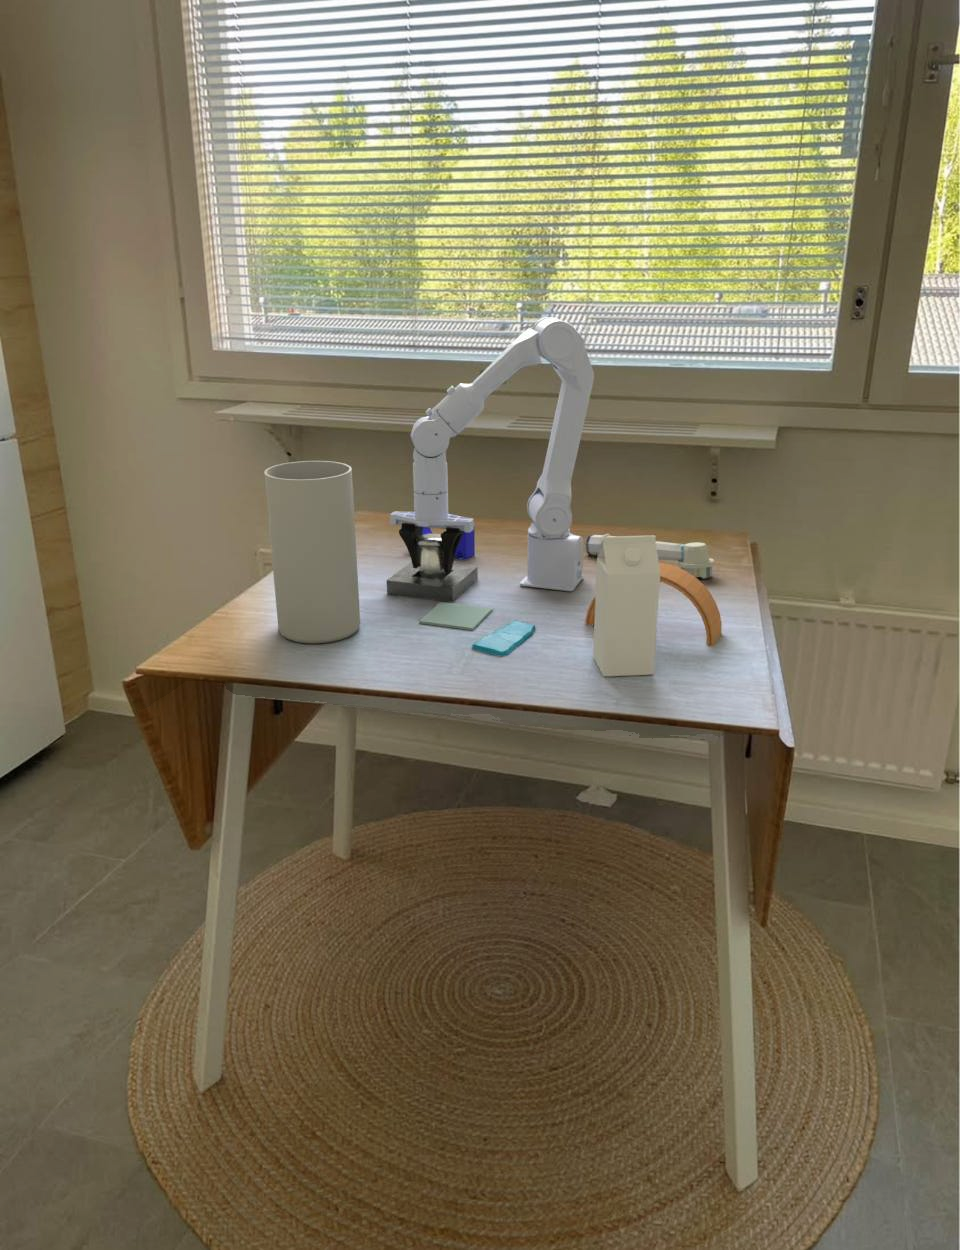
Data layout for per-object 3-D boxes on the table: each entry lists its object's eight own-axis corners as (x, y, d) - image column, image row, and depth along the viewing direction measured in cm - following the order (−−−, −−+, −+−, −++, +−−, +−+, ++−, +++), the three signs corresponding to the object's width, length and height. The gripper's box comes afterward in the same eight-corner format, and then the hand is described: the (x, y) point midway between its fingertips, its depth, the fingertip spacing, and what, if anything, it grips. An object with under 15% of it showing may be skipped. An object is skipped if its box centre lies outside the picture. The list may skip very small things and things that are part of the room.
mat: (492, 610, 156) (492, 608, 156) (473, 630, 148) (473, 628, 148) (441, 604, 159) (440, 601, 159) (419, 623, 151) (419, 620, 151)
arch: (597, 613, 155) (600, 554, 152) (721, 634, 147) (727, 572, 143) (584, 625, 150) (587, 564, 147) (712, 647, 142) (718, 583, 138)
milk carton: (592, 656, 139) (598, 529, 132) (641, 655, 139) (649, 528, 132) (602, 677, 132) (608, 545, 125) (653, 675, 133) (662, 543, 126)
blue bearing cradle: (409, 553, 186) (408, 523, 184) (422, 547, 189) (421, 517, 187) (462, 562, 180) (461, 531, 178) (474, 556, 184) (474, 526, 181)
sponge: (547, 628, 148) (515, 616, 150) (503, 653, 138) (470, 640, 141) (545, 637, 148) (514, 624, 151) (502, 663, 139) (469, 649, 142)
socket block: (477, 579, 170) (477, 566, 169) (452, 602, 160) (452, 588, 159) (415, 572, 174) (414, 559, 173) (387, 594, 164) (386, 580, 163)
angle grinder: (597, 531, 185) (718, 536, 170) (600, 564, 187) (719, 572, 172) (582, 537, 182) (704, 543, 166) (585, 571, 184) (706, 580, 168)
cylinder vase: (377, 629, 149) (369, 469, 140) (310, 652, 141) (297, 484, 131) (327, 609, 157) (317, 457, 148) (262, 630, 149) (247, 470, 140)
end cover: (453, 583, 168) (452, 535, 165) (441, 593, 164) (440, 544, 161) (424, 580, 170) (423, 532, 167) (412, 590, 166) (411, 541, 162)
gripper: (381, 492, 159) (384, 570, 165) (462, 500, 155) (463, 579, 160) (398, 483, 166) (401, 558, 171) (477, 489, 161) (478, 567, 166)
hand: (432, 568), depth 166 cm, fingers closed on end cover, 5 cm apart
